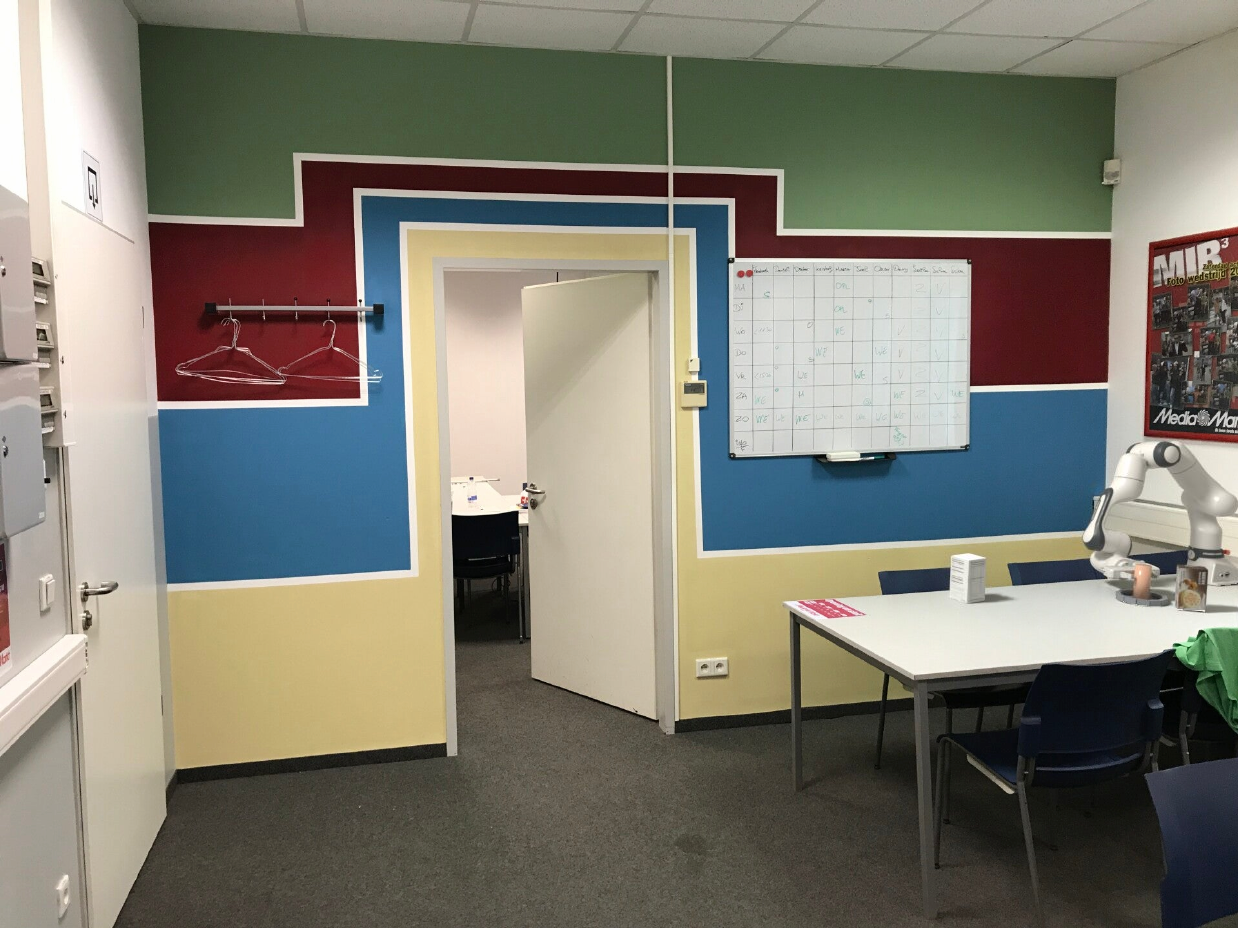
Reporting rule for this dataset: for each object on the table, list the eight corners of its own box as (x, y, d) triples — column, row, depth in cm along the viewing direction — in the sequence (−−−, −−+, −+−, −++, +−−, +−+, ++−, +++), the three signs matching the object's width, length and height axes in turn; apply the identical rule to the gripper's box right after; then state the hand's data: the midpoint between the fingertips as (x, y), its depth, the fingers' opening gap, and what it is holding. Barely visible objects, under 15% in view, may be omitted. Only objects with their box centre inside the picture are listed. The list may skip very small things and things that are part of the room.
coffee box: (1202, 608, 340) (1205, 566, 338) (1205, 613, 334) (1209, 569, 332) (1173, 605, 343) (1176, 563, 341) (1176, 610, 337) (1180, 567, 335)
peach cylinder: (1143, 596, 353) (1145, 563, 352) (1152, 600, 348) (1155, 567, 346) (1129, 597, 353) (1131, 563, 351) (1138, 601, 347) (1141, 567, 346)
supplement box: (966, 595, 357) (969, 552, 355) (985, 601, 349) (987, 557, 347) (948, 597, 353) (950, 554, 351) (966, 603, 345) (969, 559, 343)
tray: (1147, 594, 360) (1148, 588, 359) (1177, 606, 343) (1177, 600, 343) (1106, 595, 358) (1106, 589, 358) (1134, 606, 341) (1134, 601, 341)
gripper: (1096, 560, 361) (1118, 569, 347) (1146, 560, 363) (1169, 568, 349) (1095, 576, 362) (1117, 585, 348) (1145, 575, 363) (1168, 584, 350)
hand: (1144, 576), depth 349 cm, fingers open, 8 cm apart
